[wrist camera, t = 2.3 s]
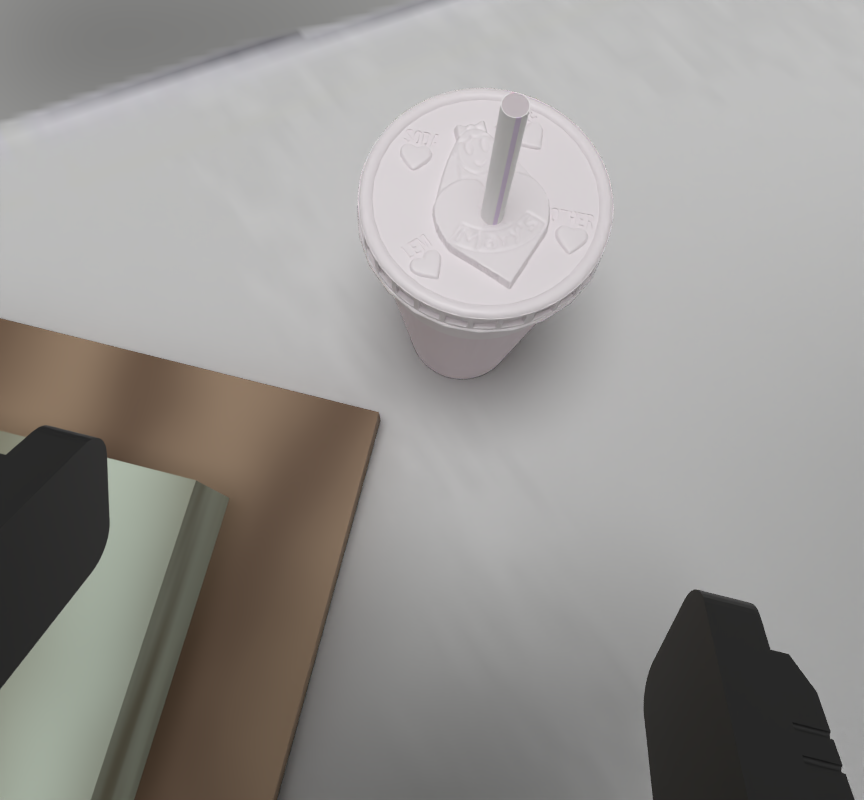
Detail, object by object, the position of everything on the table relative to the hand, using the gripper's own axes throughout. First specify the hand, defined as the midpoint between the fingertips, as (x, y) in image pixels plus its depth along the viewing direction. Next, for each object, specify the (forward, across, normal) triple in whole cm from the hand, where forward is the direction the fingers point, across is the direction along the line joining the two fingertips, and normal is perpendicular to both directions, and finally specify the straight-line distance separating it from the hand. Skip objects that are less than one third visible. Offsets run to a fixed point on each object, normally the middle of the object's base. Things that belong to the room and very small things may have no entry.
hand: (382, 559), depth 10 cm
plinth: (+8, +11, +14) cm, 20 cm away
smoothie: (+18, 0, +5) cm, 18 cm away
